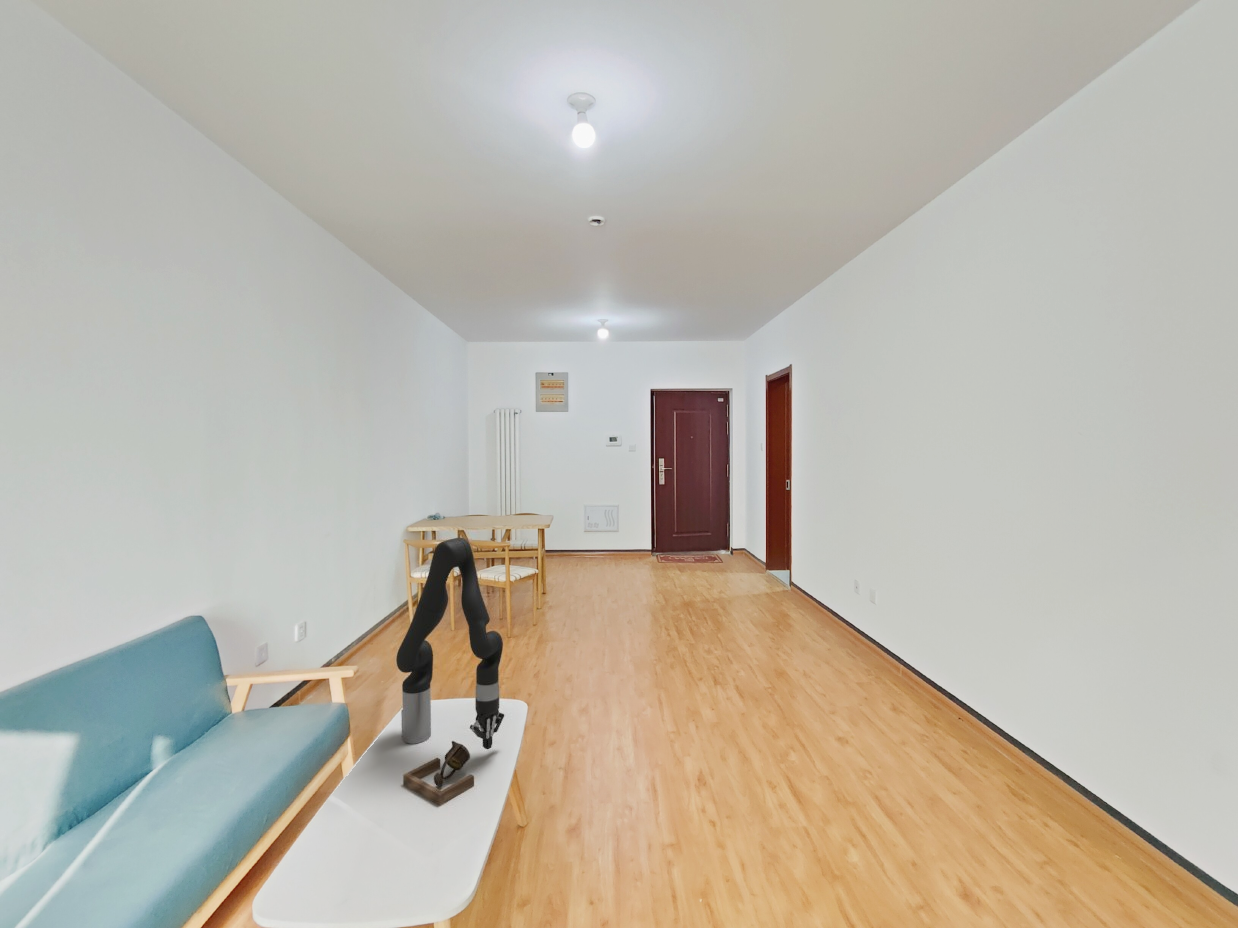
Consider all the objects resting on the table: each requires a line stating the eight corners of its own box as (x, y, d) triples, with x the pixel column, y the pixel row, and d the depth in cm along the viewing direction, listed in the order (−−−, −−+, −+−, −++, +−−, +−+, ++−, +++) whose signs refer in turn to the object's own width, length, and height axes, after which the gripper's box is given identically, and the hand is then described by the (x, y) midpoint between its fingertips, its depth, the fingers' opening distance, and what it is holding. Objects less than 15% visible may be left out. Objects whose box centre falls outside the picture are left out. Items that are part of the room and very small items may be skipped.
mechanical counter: (471, 769, 182) (475, 739, 182) (454, 794, 170) (458, 761, 169) (449, 765, 183) (453, 734, 183) (431, 789, 171) (434, 756, 170)
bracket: (403, 784, 174) (403, 774, 174) (437, 766, 183) (437, 757, 183) (440, 805, 163) (439, 794, 163) (474, 785, 173) (473, 775, 173)
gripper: (495, 685, 196) (495, 736, 196) (463, 698, 185) (463, 752, 186) (510, 691, 191) (510, 743, 192) (479, 705, 181) (479, 760, 181)
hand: (487, 747), depth 189 cm, fingers closed
